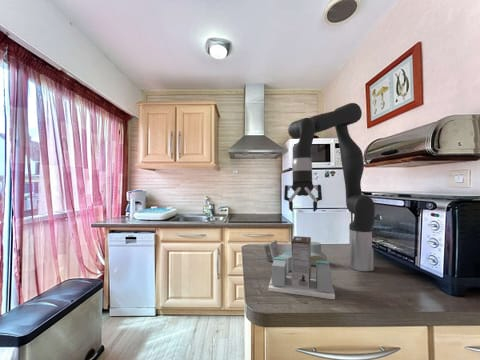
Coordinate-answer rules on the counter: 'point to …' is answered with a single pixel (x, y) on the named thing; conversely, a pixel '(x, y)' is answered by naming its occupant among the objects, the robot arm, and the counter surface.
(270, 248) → the electrical switch
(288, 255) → the block
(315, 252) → the air freshener
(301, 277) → the coffee box
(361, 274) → the counter surface
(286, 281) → the grey u-shaped holder
